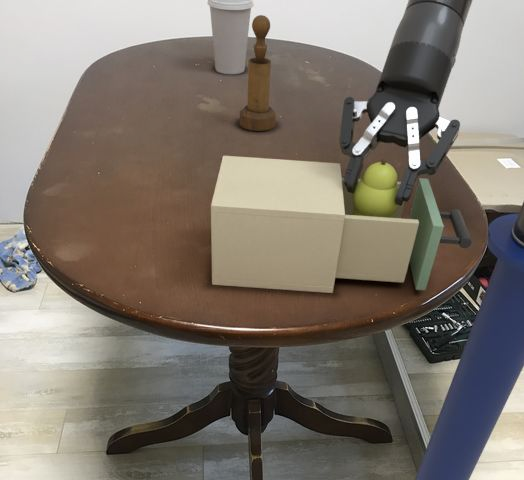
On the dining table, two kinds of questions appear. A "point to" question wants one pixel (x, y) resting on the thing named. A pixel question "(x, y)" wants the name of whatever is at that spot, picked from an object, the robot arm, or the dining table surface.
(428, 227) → the drawer
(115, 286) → the dining table surface
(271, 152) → the dining table surface
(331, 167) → the cabinet
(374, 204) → the pear
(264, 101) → the mortar and pestle
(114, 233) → the dining table surface
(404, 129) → the robot arm
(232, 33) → the coffee cup
